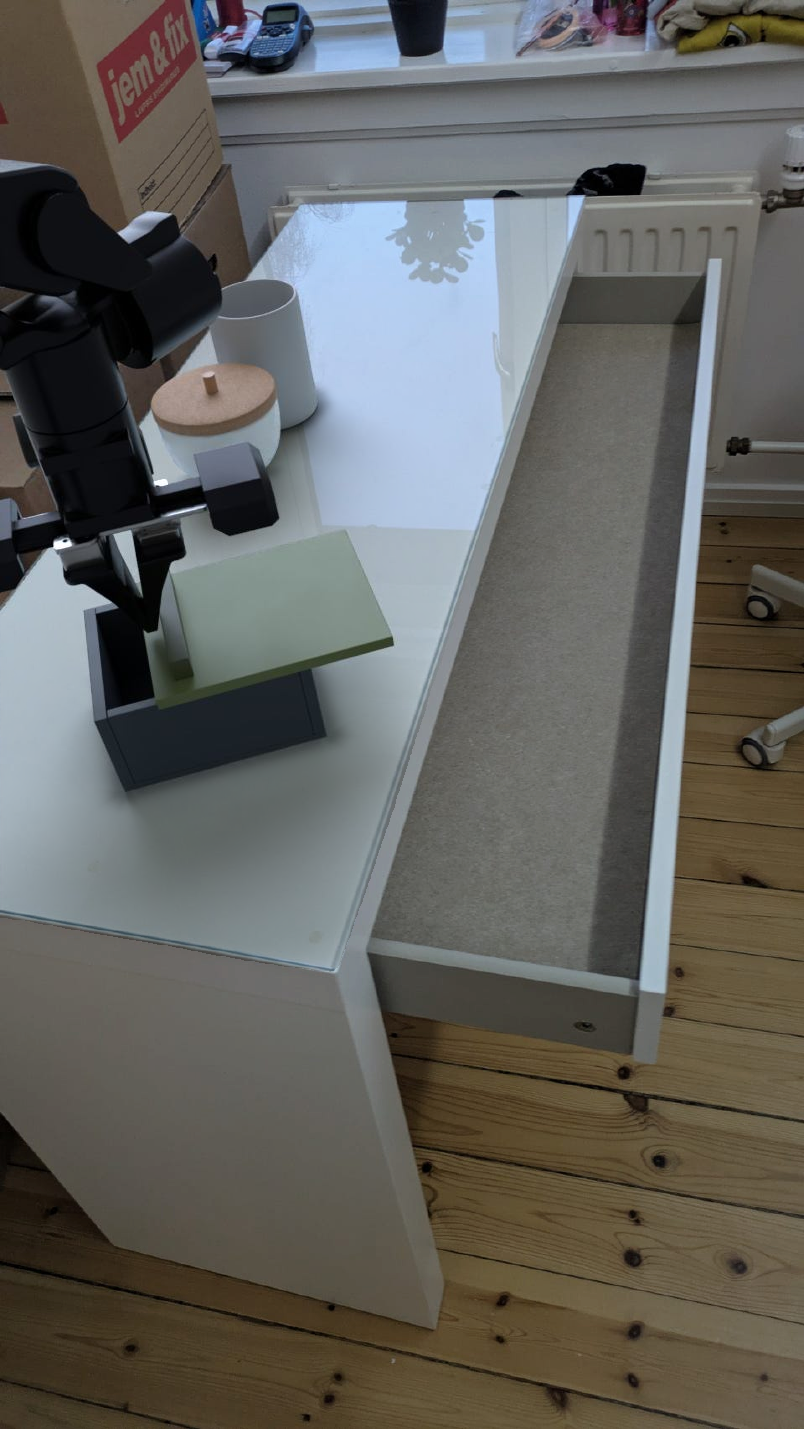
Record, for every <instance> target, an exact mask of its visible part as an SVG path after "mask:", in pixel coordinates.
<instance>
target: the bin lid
mask: <svg viewBox="0 0 804 1429" xmlns="http://www.w3.org/2000/svg"><path fill="white" fill-rule="evenodd" d="M135 583H136V585H137V587H138V589H139V591H140V593H141V595H142V590H141V584H140V581H139V582H135ZM142 597H143V596H142ZM143 632H144V638H145V644H146V650H147V655H148V661H149V667H150V672H151V678H152V684H153V690H154V695H155V701H156V704H157V706H158V709H159V710H161V709H165V708H168V707H172V706H176V705H179V704H183V703H187V702H190V701H194V700H198V699H201V698H205V697H209V696H212V695H216V694H220V693H223V692H227V691H231V690H234V689H238V688H242V687H245V686H249V685H252V684H256V683H260V682H263V681H267V680H271V679H274V678H278V677H282V676H285V675H289V674H293V673H296V672H300V671H304V670H307V669H314V668H318V667H322V666H326V665H330V664H332V663H336V662H340V661H343V660H347V659H351V658H354V657H359V656H362V655H366V654H369V653H373V652H377V651H380V650H384V649H387V648H391V647H394V646H395V641H394V636H393V634H392V631H391V629H390V627H389V624H388V622H387V620H386V618H385V615H384V614H383V611H382V609H381V607H380V604H379V602H378V600H377V598H376V594H375V593H374V591H373V588H372V586H371V584H370V581H369V579H368V577H367V575H366V573H365V570H364V568H363V566H362V563H361V562H360V559H359V556H358V555H357V552H356V550H355V548H354V545H353V543H352V541H351V539H350V537H349V534H348V532H347V530H346V529H345V528H343V529H340V530H335V531H332V532H328V533H324V534H320V535H316V536H313V537H308V538H305V539H301V540H297V541H293V542H289V543H285V544H282V545H278V546H274V547H270V548H266V549H261V550H260V551H259V550H258V551H255V552H251V553H246V554H242V555H239V556H235V557H231V558H227V559H224V560H220V561H216V562H212V563H208V564H204V565H201V566H196V567H193V568H188V569H185V570H181V571H177V572H174V573H171V570H170V569H169V571H168V575H167V578H166V581H165V584H164V587H163V591H162V598H161V606H160V615H159V624H158V631H155V632H151V633H146V632H145V631H144V630H143Z"/></svg>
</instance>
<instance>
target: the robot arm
mask: <svg viewBox="0 0 804 1429" xmlns="http://www.w3.org/2000/svg"><path fill="white" fill-rule="evenodd" d="M0 288H2V289H8V290H12V291H13V290H14V291H19V292H25V293H27V294H26V295H23V297H21V298H19V299H17V300H15V301H14V302H12V303H10V304H8V305H7V306H5V307H3V308H2V309H0V371H3V374H4V377H5V378H6V381H7V383H8V387H9V389H10V391H11V394H12V396H13V399H14V402H15V405H16V407H17V409H18V412H17V413H13V415H12V421H13V425H14V428H15V431H16V437H17V439H18V443H19V447H20V449H21V453H22V455H23V458H24V461H25V464H26V465H27V467H28V468H30V469H35V468H38V467H40V469H41V471H42V474H43V476H44V479H45V482H46V485H47V487H48V489H49V492H50V494H51V497H52V500H53V503H54V505H55V508H56V510H53V511H49V512H45V513H41V514H37V515H33V516H29V517H23V516H22V514H21V511H20V508H19V506H18V503H17V502H16V501H15V500H14V499H13V498H12V497H8V498H3V499H0V594H1V593H5V592H9V591H14V590H16V589H17V587H18V586H19V584H20V582H21V581H22V580H23V578H24V576H25V567H24V565H23V563H22V561H21V559H20V556H23V555H26V554H30V553H35V552H40V551H43V550H48V549H51V548H53V549H54V552H55V553H56V555H57V556H58V557H59V559H60V561H61V564H62V576H63V579H64V582H65V583H66V584H67V585H68V586H72V587H76V586H80V585H84V586H87V587H88V589H91V590H92V591H94V592H96V594H99V595H100V596H101V597H103V598H105V599H106V600H108V601H109V602H111V603H114V604H115V605H116V606H117V607H118V608H119V609H121V610H122V611H123V612H124V613H125V614H126V615H127V616H129V617H130V618H131V619H132V620H133V621H134V622H135V623H136V624H137V625H139V626H140V627H141V628H142V629H143V630H144V631H145V632H146V633H151V632H155V631H158V624H159V615H160V606H161V598H162V591H163V587H164V584H165V581H166V578H167V575H168V571H169V570H170V568H171V566H172V563H173V562H177V561H180V560H182V559H184V558H185V557H186V556H187V553H188V552H187V548H186V543H185V539H184V534H183V529H182V522H181V518H185V517H190V516H194V515H198V514H202V513H206V512H208V514H209V517H210V521H211V524H212V529H213V530H216V531H217V532H219V533H221V534H223V535H225V536H227V537H232V536H237V535H242V534H245V533H249V532H253V531H257V530H261V529H265V528H269V527H272V526H273V525H275V524H276V523H277V522H278V521H279V520H280V514H279V510H278V505H277V500H276V496H275V492H274V489H273V485H272V482H271V479H270V476H269V474H268V470H267V467H265V464H264V462H263V459H262V456H261V453H260V450H259V449H258V448H256V447H255V446H253V445H252V444H250V443H249V442H244V443H240V444H236V445H232V446H227V447H223V448H219V449H215V450H210V451H206V452H202V453H198V454H193V455H194V458H195V462H196V466H197V470H198V473H199V477H197V478H189V479H186V480H181V481H176V482H172V483H169V482H168V480H167V479H166V478H164V479H163V478H162V479H158V480H154V477H153V475H154V474H155V472H154V466H153V462H152V460H151V456H150V452H149V450H148V446H147V443H146V440H145V436H144V433H143V430H142V429H141V427H139V425H138V424H137V422H136V419H135V415H134V412H133V409H132V406H131V402H130V400H129V396H128V393H127V391H126V387H125V384H124V381H123V378H122V374H121V371H120V367H119V365H118V363H119V364H121V365H123V366H124V367H128V368H130V369H134V370H142V369H143V370H144V369H147V368H149V367H151V366H152V365H154V364H155V363H157V362H159V361H160V360H161V359H162V358H164V357H166V356H167V355H169V354H170V353H172V352H173V351H175V350H176V349H177V348H179V347H180V346H182V345H184V344H185V343H187V341H189V340H190V339H192V338H193V337H195V336H196V335H198V334H199V333H200V332H203V330H205V329H206V328H209V325H211V324H212V323H213V322H214V321H215V320H216V319H217V318H218V316H219V314H220V311H221V309H222V299H223V298H222V289H223V288H222V285H221V281H220V278H219V276H218V274H217V272H216V273H215V272H214V270H213V268H212V266H211V264H210V263H209V261H208V260H207V257H205V255H204V253H203V252H202V251H201V250H200V249H199V248H198V247H197V245H196V244H194V243H193V242H192V241H191V240H189V239H188V238H187V237H185V236H184V235H182V233H181V230H180V226H179V221H178V216H177V215H175V214H174V213H169V212H162V211H154V210H147V211H145V212H143V213H141V214H139V215H138V216H136V217H135V218H134V219H132V221H131V222H130V223H129V224H128V225H127V226H126V227H124V228H123V229H121V230H119V231H118V232H117V231H116V230H115V229H114V228H112V226H110V225H109V224H108V223H107V222H106V221H105V220H104V219H103V218H101V217H100V216H99V215H98V214H97V213H96V212H95V211H94V210H92V208H91V206H90V203H89V201H88V198H87V195H86V193H85V192H84V190H83V189H82V188H81V186H80V184H79V181H78V178H77V176H76V175H74V174H73V173H72V172H70V171H69V170H68V169H66V168H62V167H60V166H57V165H53V164H48V163H39V162H30V161H29V162H28V161H21V160H12V159H6V158H5V159H4V158H0ZM128 531H130V532H131V537H132V542H133V548H134V554H135V559H136V566H137V571H138V577H139V582H140V584H141V590H142V595H141V593H140V591H139V589H138V587H137V585H136V583H137V582H136V581H135V579H134V577H133V575H132V573H131V571H130V569H129V567H128V564H127V563H126V561H125V558H124V557H123V555H122V553H121V550H120V548H119V546H118V543H117V540H116V538H115V534H119V533H125V532H128ZM142 596H143V597H142Z"/></svg>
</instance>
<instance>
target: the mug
mask: <svg viewBox="0 0 804 1429" xmlns="http://www.w3.org/2000/svg"><path fill="white" fill-rule="evenodd" d="M221 289H222V298H223V299H222V309H221V311H220V314H219V316H218V318H217V319H216V320H215V321H214V322H213V323H212V324H211V325H209V326H208V329H209V333H210V337H211V342H212V345H213V349H214V353H215V357H216V361H217V364H222V363H244V364H250V365H254V366H258V367H260V368H262V369H264V370H266V371H267V372H269V373H270V374H271V375H272V377H273V378H274V380H275V383H276V388H277V400H278V405H279V411H280V423H281V430H280V431H282V430H286V429H289V428H291V427H294V426H297V425H299V424H301V423H303V422H305V421H306V420H307V419H309V418H310V417H311V416H312V415H313V414H314V413H315V411H316V409H317V407H318V401H319V400H318V393H317V387H316V383H315V378H314V373H313V368H312V364H311V363H312V362H311V359H310V353H309V347H308V341H307V336H306V331H305V325H304V320H303V314H302V309H301V304H300V298H299V294H298V291H297V289H296V287H295V286H294V285H293V284H292V283H290V282H287V281H285V280H281V279H277V278H276V279H275V278H255V279H247V280H244V281H240V282H236V283H232V284H230V285H227V286H225V287H223V288H221Z"/></svg>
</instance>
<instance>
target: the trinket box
mask: <svg viewBox="0 0 804 1429" xmlns="http://www.w3.org/2000/svg"><path fill="white" fill-rule="evenodd" d="M150 410H151V414H152V417H153V421H154V422H155V423H156V425H157V429H158V432H159V435H160V438H161V440H162V442H163V445H164V447H165V449H166V451H167V453H168V454H169V456H170V458H171V459H172V461H173V463H174V464H175V465H176V466H177V467H178V468H179V470H181V471H182V472H183V473H184V474H186V475H187V476H188V477H189V478H190V479H193V478H197V477H199V473H198V470H197V466H196V462H195V458H194V455H193V454H198V453H202V452H206V451H210V450H215V449H219V448H223V447H227V446H232V445H236V444H240V443H244V442H249V443H250V444H252V445H253V446H255V447H256V448H258V449H259V450H260V453H261V456H262V459H263V462H264V464H265V467H266V468H267V467H268V466H269V464H271V462H272V460H273V459H274V457H275V455H276V452H277V450H278V448H279V443H280V439H281V431H282V430H281V423H280V411H279V405H278V400H277V388H276V383H275V380H274V378H273V377H272V375H271V374H270V373H269V372H267V371H266V370H264V369H262V368H260V367H258V366H254V365H250V364H244V363H222V364H218V363H214V364H209V365H208V364H207V365H203V366H200V367H197V368H192V369H190V370H187V371H185V372H183V373H180V374H178V375H176V376H175V377H172V378H171V379H169V380H167V381H166V382H164V383H163V384H162V385H161V386H160V387H159V388H158V389H157V390H156V392H154V394H153V396H152V398H151V401H150Z"/></svg>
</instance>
